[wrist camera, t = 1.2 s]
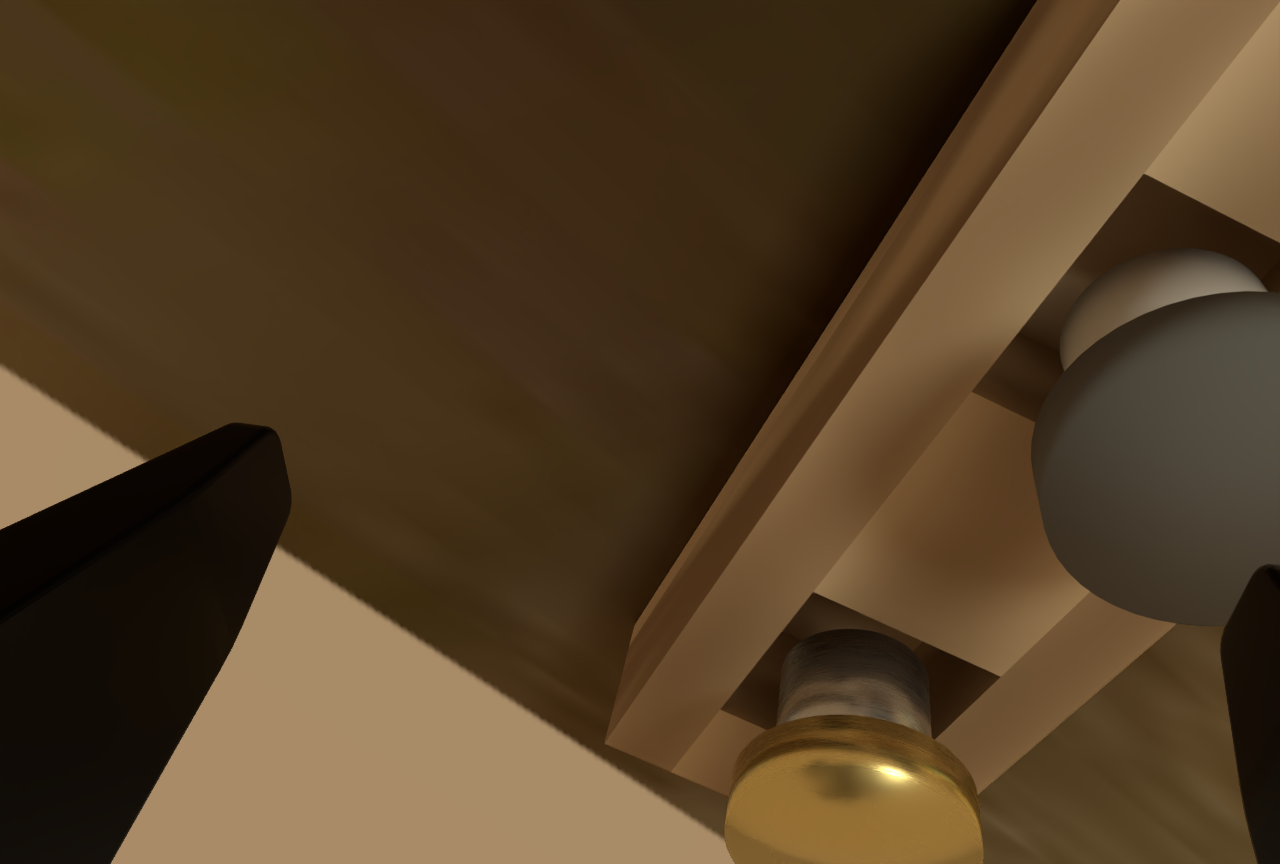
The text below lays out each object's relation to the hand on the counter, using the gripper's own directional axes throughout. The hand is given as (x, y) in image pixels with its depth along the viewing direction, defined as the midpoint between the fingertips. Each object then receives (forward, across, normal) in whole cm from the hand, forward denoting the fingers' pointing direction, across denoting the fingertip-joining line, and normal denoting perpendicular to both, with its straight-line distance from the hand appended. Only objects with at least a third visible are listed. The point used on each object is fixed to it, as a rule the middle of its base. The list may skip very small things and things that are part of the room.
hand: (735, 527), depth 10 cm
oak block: (+12, -5, +7) cm, 15 cm away
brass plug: (+9, -3, +11) cm, 15 cm away
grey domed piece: (+9, -6, +2) cm, 11 cm away
